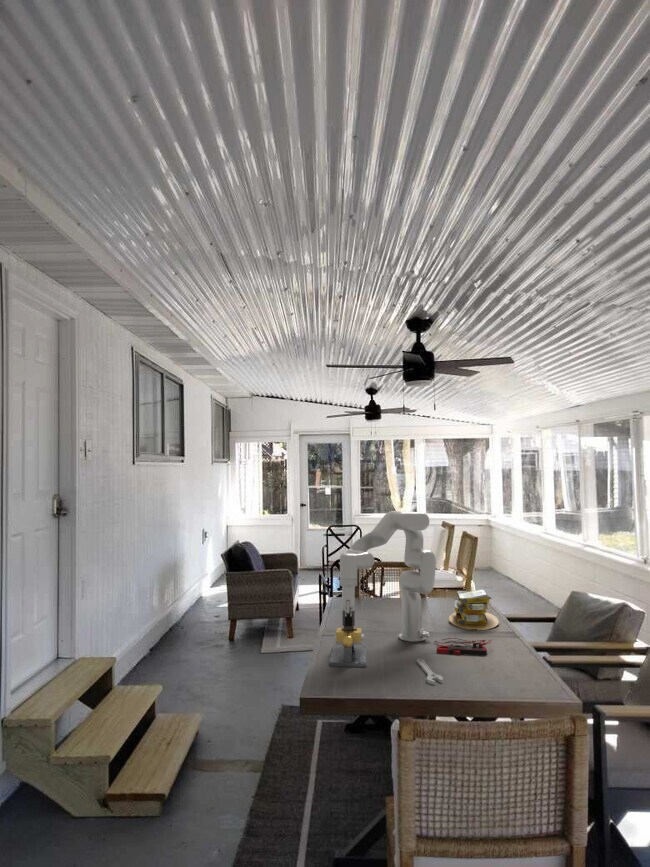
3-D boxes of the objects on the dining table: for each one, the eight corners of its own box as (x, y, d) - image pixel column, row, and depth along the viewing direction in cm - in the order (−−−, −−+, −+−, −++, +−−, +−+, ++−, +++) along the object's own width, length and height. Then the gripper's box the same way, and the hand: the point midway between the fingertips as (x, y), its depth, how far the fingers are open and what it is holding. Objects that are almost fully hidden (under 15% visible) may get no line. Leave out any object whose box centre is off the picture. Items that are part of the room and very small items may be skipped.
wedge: (342, 638, 238) (342, 610, 239) (354, 638, 238) (354, 610, 238) (342, 639, 236) (342, 611, 237) (354, 640, 236) (354, 611, 236)
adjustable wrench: (416, 662, 230) (416, 658, 230) (431, 662, 230) (431, 658, 230) (428, 685, 205) (428, 680, 205) (445, 685, 205) (445, 680, 205)
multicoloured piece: (334, 646, 249) (333, 621, 250) (367, 647, 248) (366, 622, 248) (329, 665, 225) (329, 638, 225) (366, 667, 223) (365, 638, 224)
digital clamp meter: (495, 648, 234) (435, 644, 239) (495, 658, 234) (435, 655, 239) (488, 631, 257) (434, 629, 262) (488, 641, 257) (434, 639, 262)
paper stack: (497, 632, 271) (496, 597, 272) (446, 627, 279) (446, 594, 280) (498, 619, 294) (498, 587, 296) (451, 615, 302) (451, 584, 304)
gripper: (341, 578, 247) (341, 620, 245) (338, 585, 231) (338, 630, 230) (357, 578, 246) (358, 620, 245) (356, 585, 230) (356, 630, 229)
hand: (348, 624), depth 237 cm, fingers closed on wedge, 2 cm apart
